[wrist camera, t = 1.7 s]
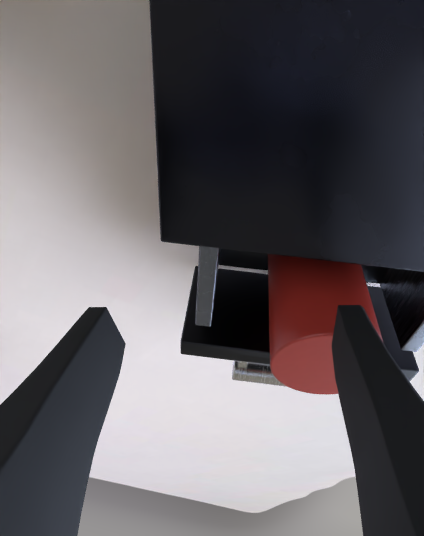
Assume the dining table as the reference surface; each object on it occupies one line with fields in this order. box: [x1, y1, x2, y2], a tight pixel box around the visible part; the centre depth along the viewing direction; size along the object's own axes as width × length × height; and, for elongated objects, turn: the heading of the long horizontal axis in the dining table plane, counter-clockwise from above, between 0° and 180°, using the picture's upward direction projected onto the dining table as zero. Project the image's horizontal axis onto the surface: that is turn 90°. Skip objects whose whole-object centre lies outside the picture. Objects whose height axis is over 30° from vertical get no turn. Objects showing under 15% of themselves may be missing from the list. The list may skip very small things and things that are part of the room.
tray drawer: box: [181, 246, 424, 387], centre depth 19 cm, size 17×12×6 cm
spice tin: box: [268, 254, 383, 394], centre depth 17 cm, size 4×4×8 cm
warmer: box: [149, 0, 424, 272], centre depth 10 cm, size 14×14×8 cm
